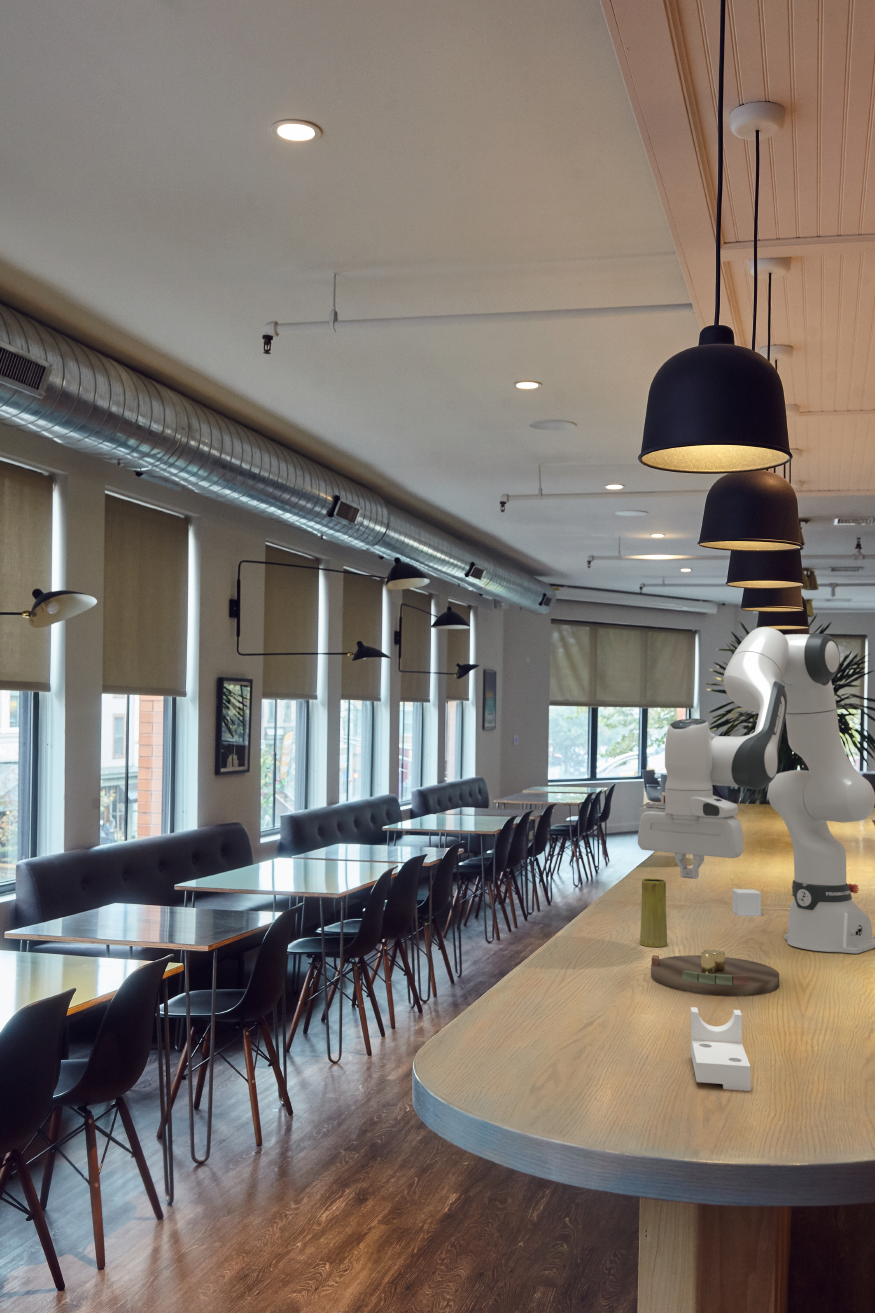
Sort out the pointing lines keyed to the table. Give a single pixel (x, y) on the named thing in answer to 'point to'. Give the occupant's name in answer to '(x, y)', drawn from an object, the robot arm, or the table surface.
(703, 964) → the brass dumbbell
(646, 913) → the vase
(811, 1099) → the table surface
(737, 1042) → the bracket
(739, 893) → the light grey cube
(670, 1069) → the table surface
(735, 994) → the dial base
